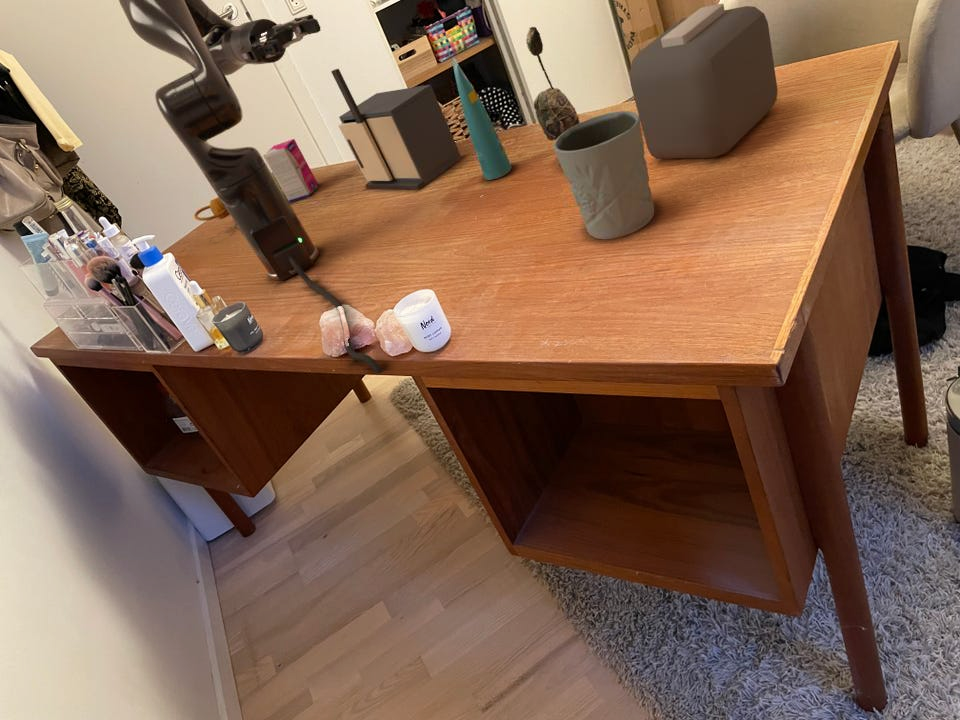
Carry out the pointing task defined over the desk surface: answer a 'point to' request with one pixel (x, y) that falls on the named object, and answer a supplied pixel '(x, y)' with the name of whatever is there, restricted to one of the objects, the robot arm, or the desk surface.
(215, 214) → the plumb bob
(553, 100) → the plant with pod
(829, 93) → the desk surface
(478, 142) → the teal cone
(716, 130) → the alarm clock
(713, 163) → the desk surface
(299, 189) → the supplement box
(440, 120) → the closet
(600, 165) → the grey embossed cup
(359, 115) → the door
